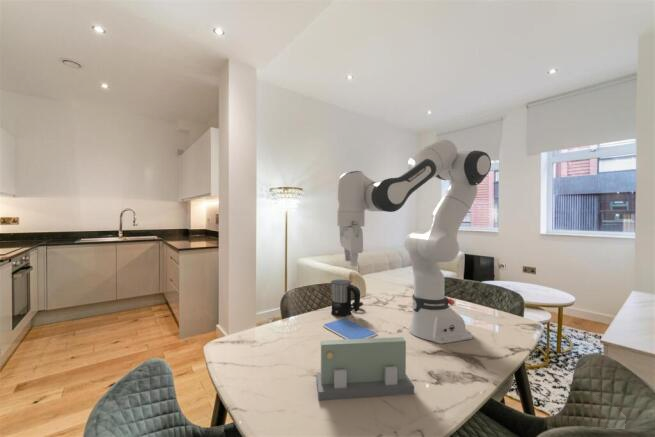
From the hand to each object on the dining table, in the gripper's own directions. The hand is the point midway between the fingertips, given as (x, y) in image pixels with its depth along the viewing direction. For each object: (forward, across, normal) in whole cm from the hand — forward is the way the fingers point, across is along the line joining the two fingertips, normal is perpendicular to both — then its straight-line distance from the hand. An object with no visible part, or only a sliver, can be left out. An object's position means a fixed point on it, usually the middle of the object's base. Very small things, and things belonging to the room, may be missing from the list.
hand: (350, 263), depth 88 cm
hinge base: (+29, -18, 0) cm, 34 cm away
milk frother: (+29, +38, -6) cm, 48 cm away
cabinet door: (+27, -18, 0) cm, 32 cm away
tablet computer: (+30, +17, -3) cm, 35 cm away
